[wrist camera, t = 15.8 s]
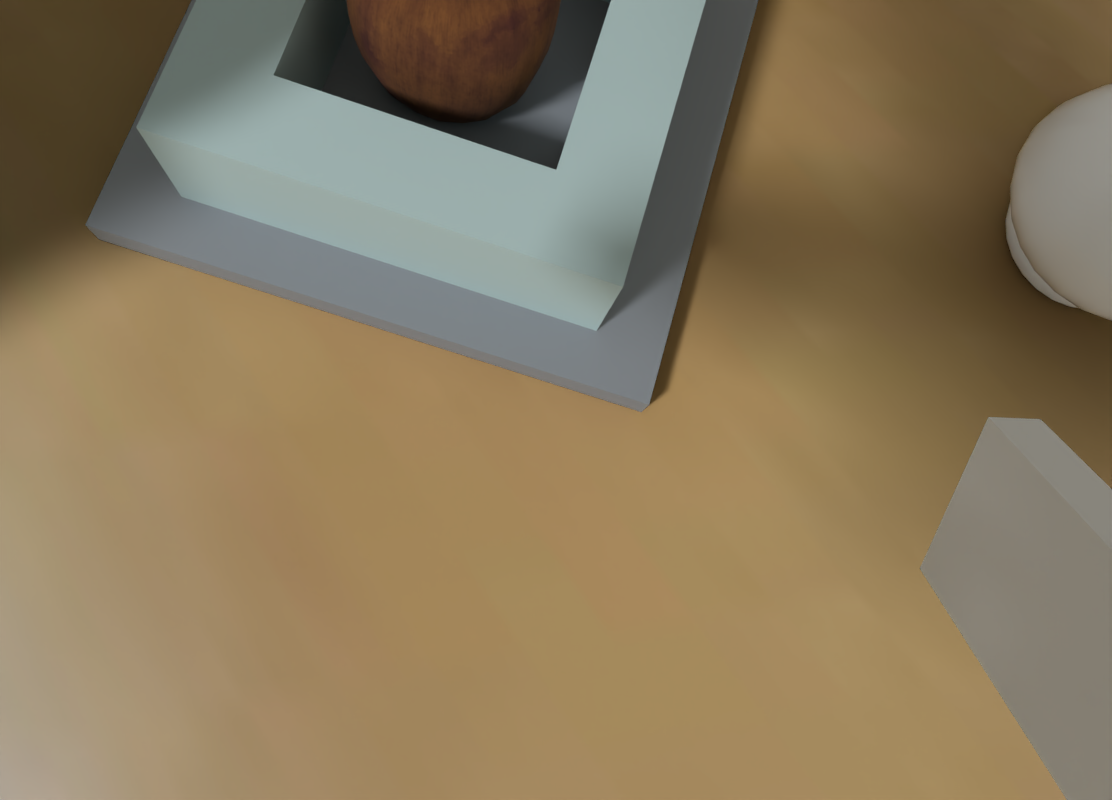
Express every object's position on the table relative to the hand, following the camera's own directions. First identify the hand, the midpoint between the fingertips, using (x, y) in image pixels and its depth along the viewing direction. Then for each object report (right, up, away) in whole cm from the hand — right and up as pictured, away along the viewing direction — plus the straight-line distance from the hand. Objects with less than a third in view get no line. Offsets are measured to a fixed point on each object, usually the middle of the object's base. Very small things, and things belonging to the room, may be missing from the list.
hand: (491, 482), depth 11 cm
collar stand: (-3, +13, +22) cm, 25 cm away
